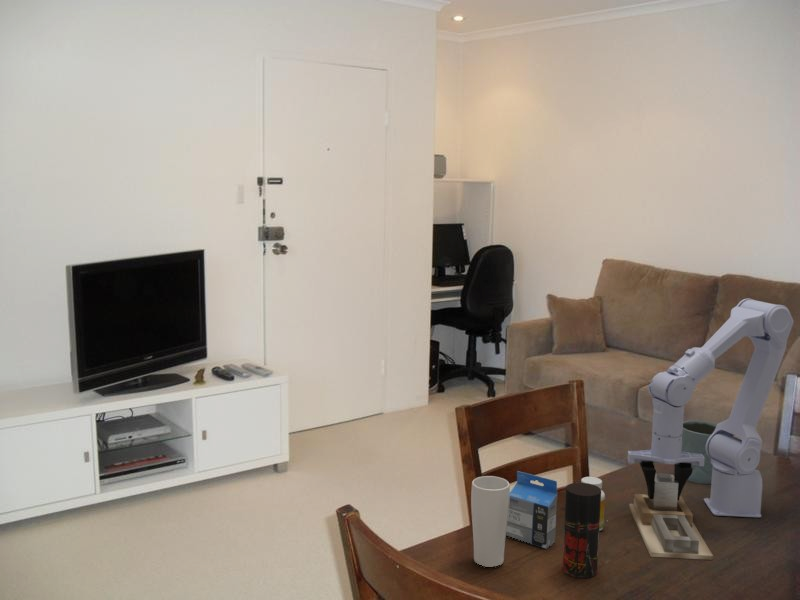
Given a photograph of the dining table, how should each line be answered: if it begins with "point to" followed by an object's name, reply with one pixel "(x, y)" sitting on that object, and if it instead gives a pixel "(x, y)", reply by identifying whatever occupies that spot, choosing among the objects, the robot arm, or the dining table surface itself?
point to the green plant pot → (698, 448)
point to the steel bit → (664, 493)
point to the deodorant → (581, 530)
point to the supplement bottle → (598, 483)
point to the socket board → (669, 531)
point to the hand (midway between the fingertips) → (663, 497)
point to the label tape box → (533, 510)
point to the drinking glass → (489, 519)
